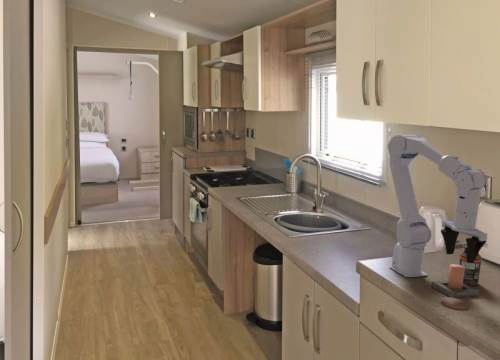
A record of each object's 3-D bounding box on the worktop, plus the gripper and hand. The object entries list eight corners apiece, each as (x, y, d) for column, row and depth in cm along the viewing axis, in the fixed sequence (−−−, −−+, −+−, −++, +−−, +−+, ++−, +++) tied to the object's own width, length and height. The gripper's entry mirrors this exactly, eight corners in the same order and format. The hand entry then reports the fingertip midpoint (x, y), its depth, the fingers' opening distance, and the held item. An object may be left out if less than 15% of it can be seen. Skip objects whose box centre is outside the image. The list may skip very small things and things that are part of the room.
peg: (443, 289, 147) (446, 264, 146) (454, 288, 148) (457, 263, 147) (453, 294, 143) (456, 269, 142) (464, 293, 145) (468, 268, 143)
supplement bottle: (460, 277, 158) (465, 242, 156) (480, 282, 154) (485, 247, 152) (454, 282, 153) (459, 246, 151) (474, 287, 150) (479, 251, 148)
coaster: (435, 300, 138) (435, 298, 138) (455, 298, 140) (455, 296, 140) (453, 310, 132) (453, 309, 132) (474, 308, 134) (474, 306, 134)
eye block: (431, 286, 148) (431, 281, 148) (455, 284, 152) (456, 279, 151) (452, 298, 140) (453, 293, 140) (478, 295, 143) (478, 290, 143)
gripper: (436, 206, 146) (430, 251, 148) (476, 218, 133) (469, 267, 135) (454, 205, 149) (448, 249, 151) (495, 217, 136) (488, 265, 138)
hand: (459, 258), depth 143 cm, fingers open, 7 cm apart
